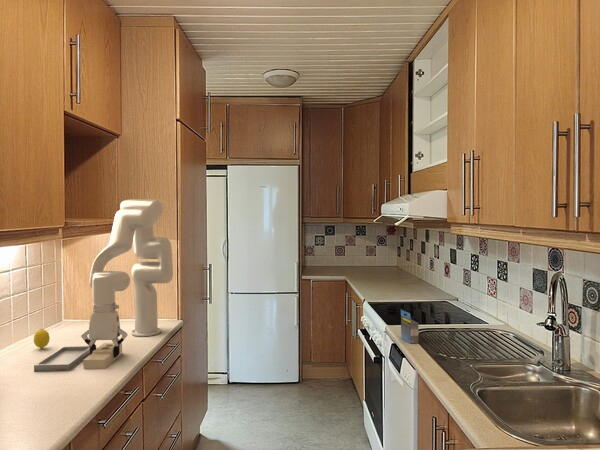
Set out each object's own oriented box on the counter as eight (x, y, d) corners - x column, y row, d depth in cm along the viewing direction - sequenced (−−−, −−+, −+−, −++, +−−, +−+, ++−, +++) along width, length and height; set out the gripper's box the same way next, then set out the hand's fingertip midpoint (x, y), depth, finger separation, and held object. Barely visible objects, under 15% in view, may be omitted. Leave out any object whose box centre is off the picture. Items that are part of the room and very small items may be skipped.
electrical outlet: (83, 357, 172) (103, 342, 190) (83, 368, 172) (103, 353, 190) (104, 356, 172) (122, 342, 190) (104, 368, 172) (122, 353, 190)
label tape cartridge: (419, 343, 201) (419, 313, 201) (410, 344, 200) (410, 313, 200) (408, 337, 210) (408, 308, 210) (400, 338, 209) (400, 309, 209)
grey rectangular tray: (62, 352, 192) (62, 346, 192) (93, 351, 192) (93, 345, 192) (34, 371, 169) (33, 365, 169) (68, 370, 170) (68, 364, 170)
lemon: (50, 346, 200) (50, 326, 200) (48, 350, 195) (48, 329, 195) (35, 347, 198) (34, 327, 198) (32, 351, 193) (32, 331, 193)
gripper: (131, 305, 185) (132, 353, 186) (83, 306, 184) (84, 354, 185) (125, 309, 178) (126, 359, 178) (75, 310, 177) (76, 360, 177)
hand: (104, 356), depth 182 cm, fingers closed on electrical outlet, 7 cm apart
